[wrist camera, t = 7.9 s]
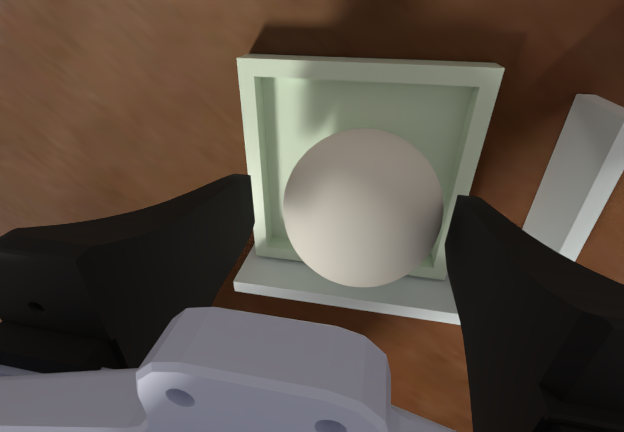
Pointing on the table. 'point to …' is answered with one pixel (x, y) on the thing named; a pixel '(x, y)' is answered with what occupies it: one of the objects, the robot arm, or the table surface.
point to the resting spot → (361, 125)
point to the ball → (363, 207)
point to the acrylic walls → (539, 224)
